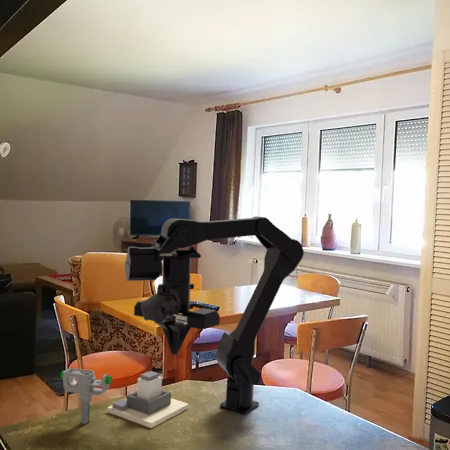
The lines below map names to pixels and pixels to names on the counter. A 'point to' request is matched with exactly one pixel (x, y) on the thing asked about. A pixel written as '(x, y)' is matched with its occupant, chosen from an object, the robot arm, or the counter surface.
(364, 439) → the counter surface
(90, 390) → the mechanical component
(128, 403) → the board
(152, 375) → the plug
